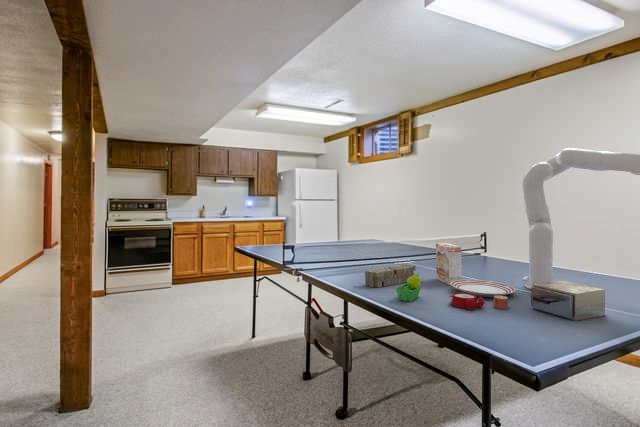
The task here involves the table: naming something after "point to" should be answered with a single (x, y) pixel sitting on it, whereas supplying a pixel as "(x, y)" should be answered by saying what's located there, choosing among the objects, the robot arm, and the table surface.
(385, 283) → the block tower
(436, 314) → the table surface
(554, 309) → the handled box
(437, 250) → the coffeecake box
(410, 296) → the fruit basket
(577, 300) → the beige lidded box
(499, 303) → the orange glossy cylinder
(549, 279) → the robot arm
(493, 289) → the dinner plate
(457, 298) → the alarm clock
